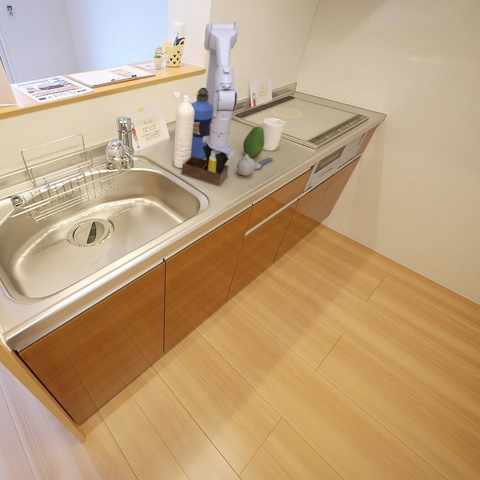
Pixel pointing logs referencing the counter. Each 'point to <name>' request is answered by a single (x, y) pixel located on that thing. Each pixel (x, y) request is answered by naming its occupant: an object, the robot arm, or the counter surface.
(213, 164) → the supplement bottle
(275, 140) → the mug
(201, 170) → the crate
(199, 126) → the water bottle
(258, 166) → the wristwatch
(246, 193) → the counter surface
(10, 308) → the counter surface
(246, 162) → the figurine
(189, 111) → the water bottle
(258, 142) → the fruit
